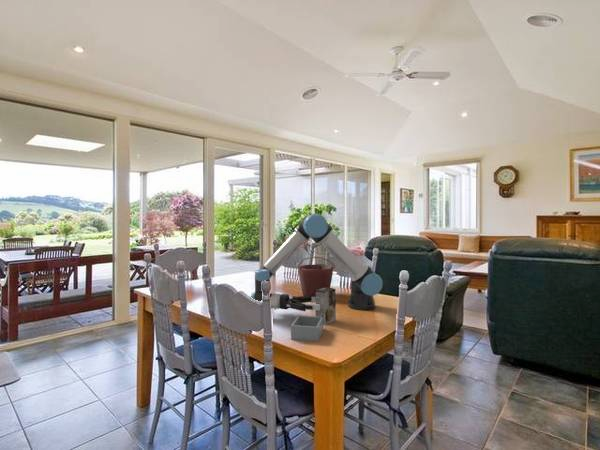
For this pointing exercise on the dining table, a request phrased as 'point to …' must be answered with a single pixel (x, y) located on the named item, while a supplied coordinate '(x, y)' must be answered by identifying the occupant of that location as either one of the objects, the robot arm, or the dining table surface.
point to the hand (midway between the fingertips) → (322, 303)
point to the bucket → (314, 276)
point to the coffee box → (326, 304)
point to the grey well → (307, 328)
